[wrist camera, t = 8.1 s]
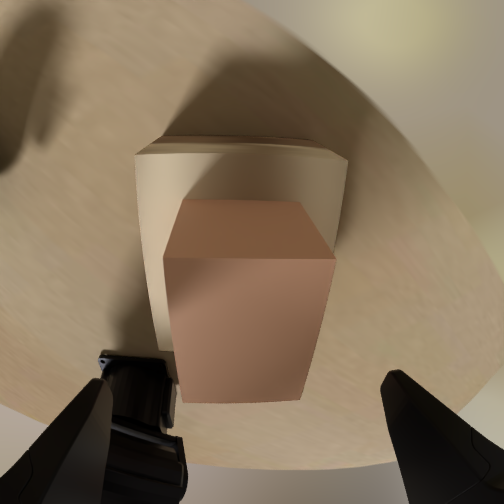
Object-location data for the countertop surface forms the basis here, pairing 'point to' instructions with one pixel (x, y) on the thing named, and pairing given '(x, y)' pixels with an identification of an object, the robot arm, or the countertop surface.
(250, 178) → the beige stepped block
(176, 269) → the brick
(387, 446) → the countertop surface
